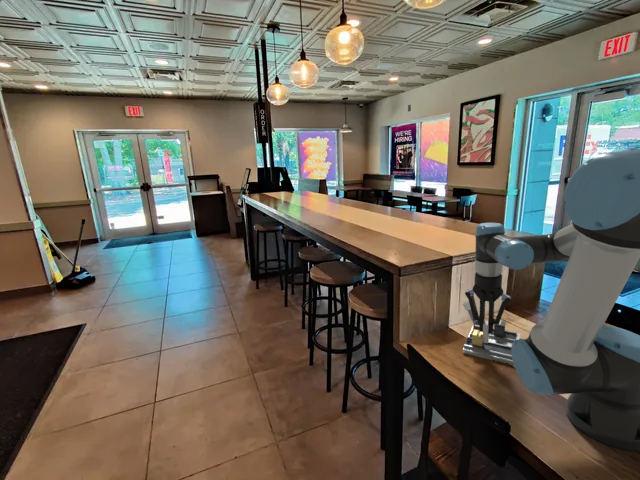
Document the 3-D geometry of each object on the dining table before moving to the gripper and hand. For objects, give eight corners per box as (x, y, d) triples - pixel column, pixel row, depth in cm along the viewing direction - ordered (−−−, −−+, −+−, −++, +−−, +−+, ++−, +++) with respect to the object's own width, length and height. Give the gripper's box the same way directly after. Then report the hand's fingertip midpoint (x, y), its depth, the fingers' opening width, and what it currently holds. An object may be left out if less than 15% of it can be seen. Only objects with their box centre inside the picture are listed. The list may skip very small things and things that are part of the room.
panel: (516, 366, 96) (517, 353, 95) (462, 352, 105) (463, 340, 103) (520, 337, 110) (521, 326, 109) (473, 328, 119) (473, 317, 118)
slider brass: (482, 348, 103) (482, 335, 102) (472, 346, 105) (472, 333, 103) (483, 343, 106) (484, 330, 105) (473, 341, 107) (474, 328, 106)
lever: (479, 329, 112) (467, 303, 113) (475, 330, 113) (462, 304, 114) (480, 326, 114) (468, 300, 114) (476, 327, 115) (464, 301, 115)
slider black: (503, 337, 108) (504, 325, 107) (493, 335, 109) (494, 323, 108) (504, 333, 111) (505, 320, 109) (495, 331, 112) (495, 319, 111)
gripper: (513, 271, 97) (509, 340, 103) (467, 266, 105) (466, 331, 110) (511, 279, 91) (507, 352, 97) (463, 274, 99) (461, 341, 104)
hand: (485, 340), depth 103 cm, fingers closed
